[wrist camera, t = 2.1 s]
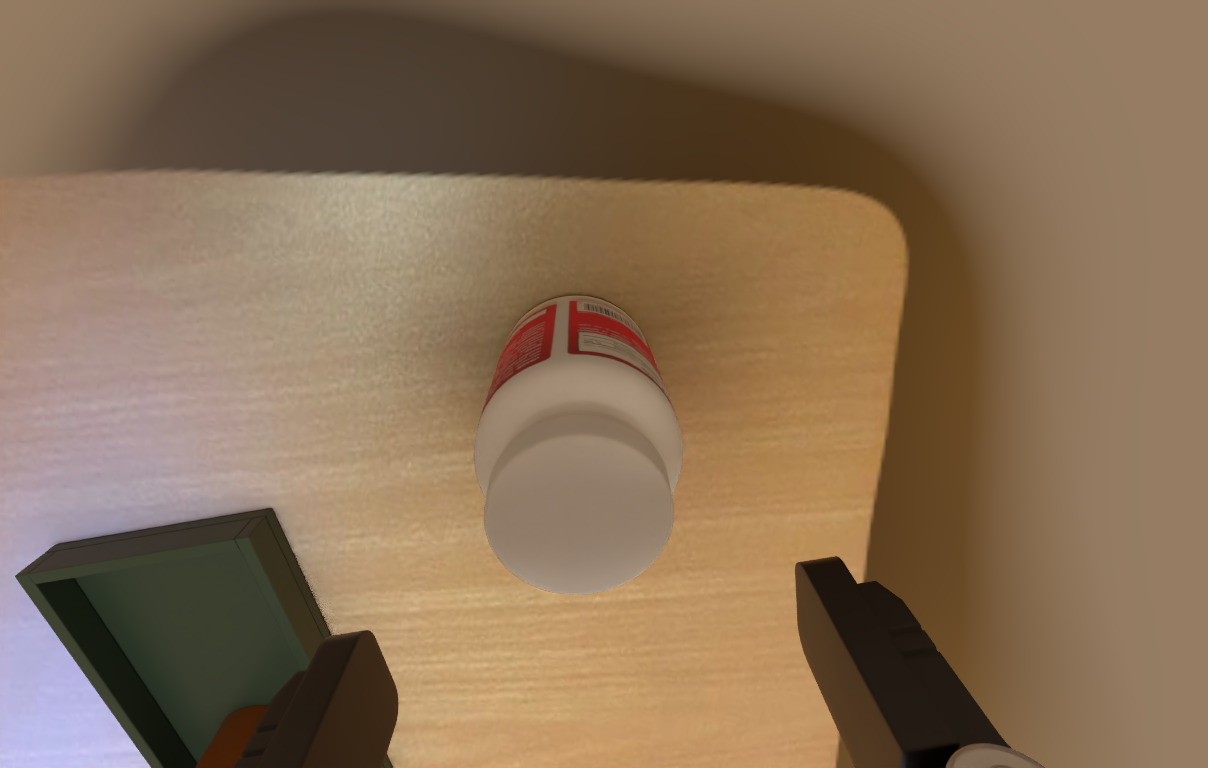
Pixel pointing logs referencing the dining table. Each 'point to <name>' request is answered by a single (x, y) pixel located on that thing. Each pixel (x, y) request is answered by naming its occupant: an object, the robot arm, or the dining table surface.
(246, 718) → the amber bottle middle
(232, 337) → the dining table surface
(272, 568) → the tray
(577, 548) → the pill bottle
